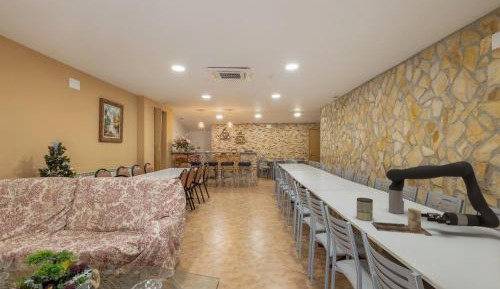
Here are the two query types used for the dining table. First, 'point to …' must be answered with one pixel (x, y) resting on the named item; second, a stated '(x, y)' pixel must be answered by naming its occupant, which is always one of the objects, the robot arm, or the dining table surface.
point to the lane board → (397, 228)
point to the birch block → (414, 219)
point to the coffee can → (365, 209)
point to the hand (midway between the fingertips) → (423, 217)
